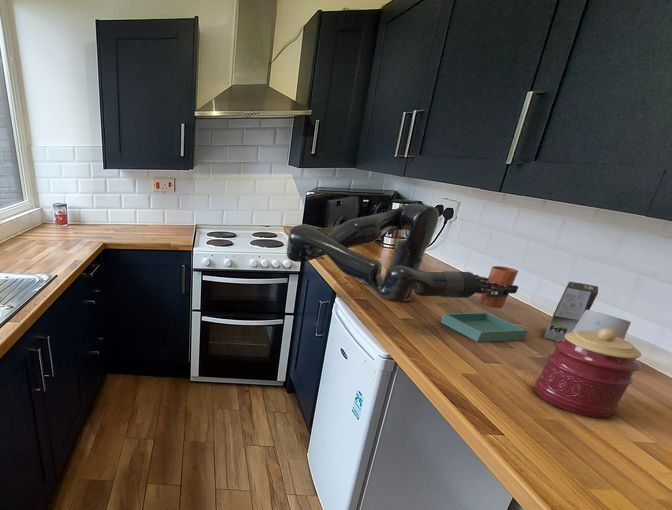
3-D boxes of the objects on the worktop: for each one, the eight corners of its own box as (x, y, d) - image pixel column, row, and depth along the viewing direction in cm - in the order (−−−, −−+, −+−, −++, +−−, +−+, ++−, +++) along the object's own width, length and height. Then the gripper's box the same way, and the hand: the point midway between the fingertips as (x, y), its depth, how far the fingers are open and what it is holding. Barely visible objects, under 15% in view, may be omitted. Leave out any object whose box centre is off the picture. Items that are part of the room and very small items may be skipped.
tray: (440, 322, 127) (443, 313, 126) (483, 320, 130) (486, 312, 128) (477, 341, 115) (481, 332, 114) (523, 339, 117) (527, 330, 116)
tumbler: (474, 302, 120) (487, 266, 116) (487, 300, 122) (501, 265, 118) (494, 309, 115) (509, 272, 111) (507, 307, 117) (523, 271, 113)
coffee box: (572, 345, 115) (599, 293, 108) (543, 337, 119) (567, 287, 113) (573, 336, 121) (599, 286, 114) (545, 329, 125) (568, 280, 119)
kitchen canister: (627, 413, 85) (673, 339, 78) (586, 423, 81) (631, 346, 74) (556, 381, 96) (591, 314, 89) (518, 388, 93) (551, 319, 86)
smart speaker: (615, 364, 105) (643, 315, 100) (600, 372, 101) (629, 321, 96) (569, 348, 113) (592, 302, 107) (554, 355, 109) (577, 307, 103)
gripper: (431, 288, 123) (482, 289, 125) (466, 306, 110) (523, 306, 111) (439, 264, 120) (491, 266, 121) (476, 280, 107) (534, 281, 108)
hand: (506, 285), depth 116 cm, fingers closed on tumbler, 6 cm apart
